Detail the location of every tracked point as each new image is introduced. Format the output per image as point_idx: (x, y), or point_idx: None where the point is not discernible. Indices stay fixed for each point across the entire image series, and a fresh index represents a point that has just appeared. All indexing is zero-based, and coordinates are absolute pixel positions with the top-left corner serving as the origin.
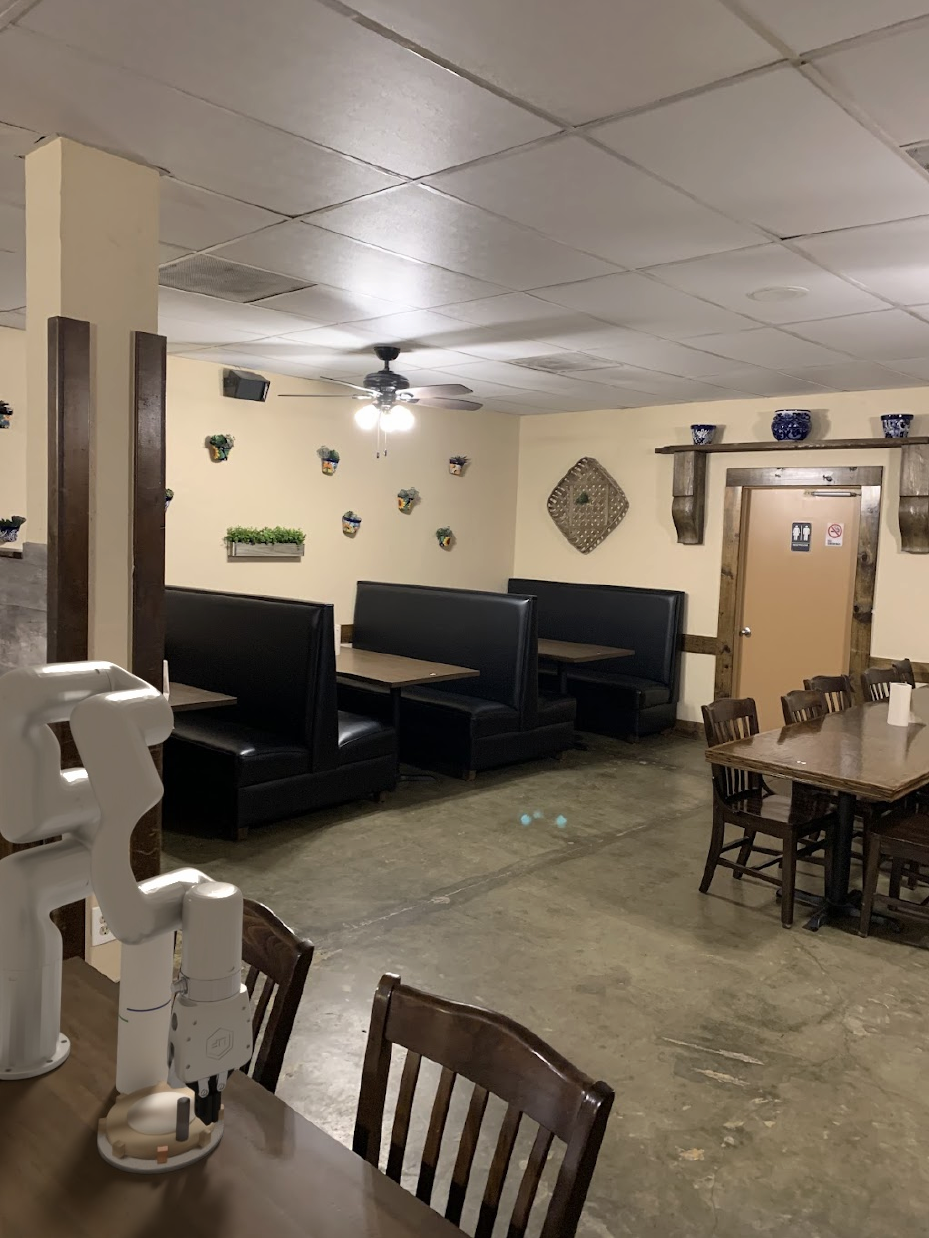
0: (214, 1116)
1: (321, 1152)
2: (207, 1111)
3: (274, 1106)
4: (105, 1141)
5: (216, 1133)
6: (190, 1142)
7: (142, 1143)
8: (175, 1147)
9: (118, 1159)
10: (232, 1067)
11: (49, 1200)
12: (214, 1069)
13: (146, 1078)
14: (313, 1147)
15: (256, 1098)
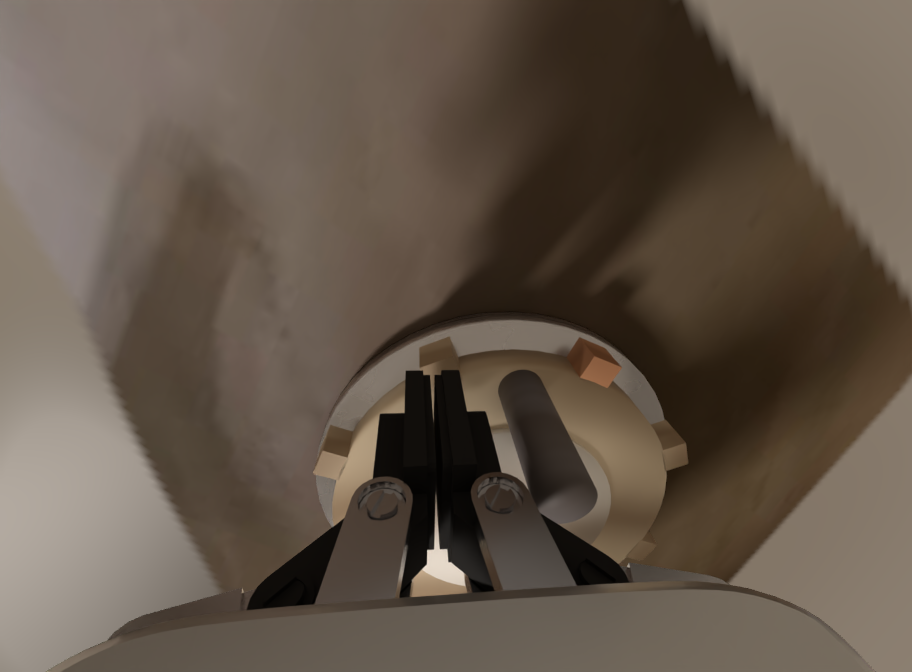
0: (423, 387)
1: (6, 67)
2: (465, 408)
3: (135, 419)
4: None
5: (376, 382)
6: (496, 363)
7: (630, 425)
8: (551, 365)
9: (659, 420)
10: (296, 621)
11: (827, 382)
12: (524, 660)
13: None
14: (38, 126)
15: (183, 475)
